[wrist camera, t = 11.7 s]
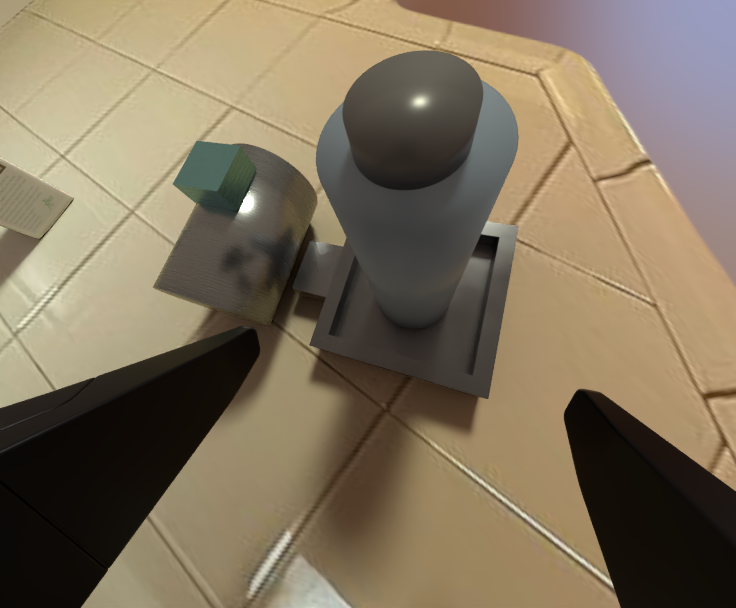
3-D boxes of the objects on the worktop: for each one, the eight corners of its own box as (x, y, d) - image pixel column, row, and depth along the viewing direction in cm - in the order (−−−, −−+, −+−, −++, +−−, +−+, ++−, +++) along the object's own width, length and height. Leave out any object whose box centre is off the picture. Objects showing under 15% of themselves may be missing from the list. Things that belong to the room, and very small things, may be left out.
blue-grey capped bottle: (442, 337, 17) (516, 216, 4) (368, 318, 18) (268, 182, 6) (457, 267, 18) (552, 16, 6) (387, 253, 19) (338, 23, 7)
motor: (478, 396, 16) (540, 411, 8) (209, 315, 21) (88, 276, 13) (506, 243, 19) (575, 142, 11) (261, 202, 24) (184, 112, 16)
